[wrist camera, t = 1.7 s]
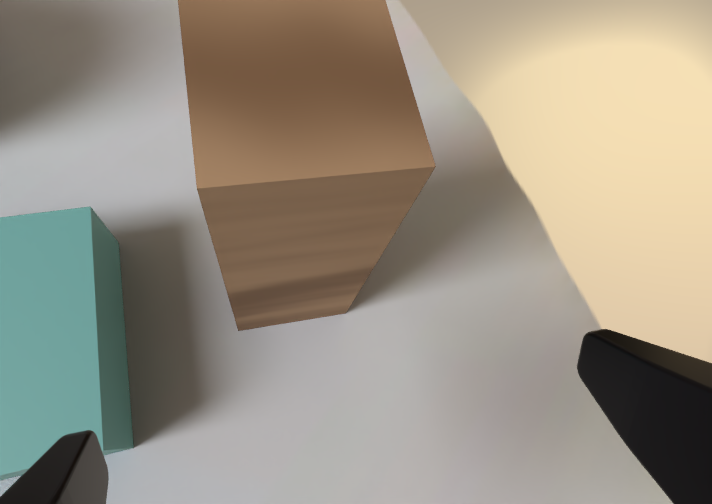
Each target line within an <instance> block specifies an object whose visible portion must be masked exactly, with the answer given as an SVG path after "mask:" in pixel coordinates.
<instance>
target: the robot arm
mask: <svg viewBox="0 0 712 504" xmlns="http://www.w3.org/2000/svg"><path fill="white" fill-rule="evenodd" d="M577 370H578V373H579V376H580V378H581V379H582V381H583V382H584V384H585V385H586V387H587V388H588V390H589V391H590V393H591V394H592V396H593V397H594V399H595V400H596V402H597V403H598V405H599V406H600V408H601V409H602V410H603V412H604V413H605V415H606V416H607V418H608V419H609V421H610V422H611V424H612V425H613V427H614V428H615V430H616V431H617V433H618V434H619V435H620V437H621V438H622V440H623V441H624V442H625V444H626V445H627V446H628V448H629V449H630V450H631V452H632V453H633V454H634V455H635V457H636V458H637V459H638V460H639V462H640V463H641V464H642V465H643V466H644V468H645V469H646V470H647V471H648V473H649V474H650V475H651V476H652V478H653V479H654V480H655V481H656V483H657V484H658V485H659V486H660V487H661V489H662V490H663V491H664V492H665V494H666V495H667V496H668V497H669V499H670V500H671V501H672V502H673V503H674V504H712V363H709V362H706V361H702V360H700V359H697V358H694V357H691V356H688V355H684V354H681V353H678V352H675V351H672V350H669V349H666V348H663V347H660V346H657V345H654V344H651V343H648V342H645V341H642V340H638V339H636V338H632V337H630V336H626V335H623V334H620V333H617V332H614V331H611V330H607V329H601V330H596V331H591V332H588V333H586V334H585V336H584V337H583V341H582V345H581V350H580V354H579V359H578V364H577ZM107 489H108V468H107V464H106V462H105V459H104V456H103V453H102V450H101V447H100V444H99V441H98V438H97V435H96V434H95V433H94V431H91V430H86V431H81V432H75V433H70V434H67V435H64V436H62V437H61V438H60V439H58V440H57V441H56V442H55V443H54V444H53V445H52V446H51V447H50V448H49V449H48V450H47V451H46V452H45V453H44V454H43V455H42V456H41V457H40V458H39V459H38V460H37V461H36V462H35V463H34V464H33V465H32V466H31V467H30V468H29V469H28V470H27V471H26V472H25V473H24V474H23V475H22V476H21V477H20V478H19V479H18V480H17V481H16V482H15V483H14V484H13V485H12V486H11V487H10V488H9V489H8V490H7V491H6V492H5V493H4V494H3V495H2V496H1V497H0V504H106V498H107Z"/></svg>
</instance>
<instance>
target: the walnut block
mask: <svg viewBox="0 0 712 504" xmlns="http://www.w3.org/2000/svg"><path fill="white" fill-rule="evenodd" d="M178 5H179V15H180V25H181V35H182V45H183V55H184V65H185V75H186V85H187V95H188V104H189V114H190V124H191V134H192V144H193V154H194V164H195V174H196V184H197V190H198V194H199V197H200V201H201V204H202V208H203V211H204V214H205V218H206V221H207V225H208V228H209V232H210V235H211V239H212V242H213V245H214V249H215V252H216V256H217V259H218V263H219V266H220V269H221V273H222V276H223V280H224V283H225V287H226V290H227V293H228V297H229V300H230V304H231V307H232V311H233V314H234V317H235V321H236V324H237V328H238V331H241V330H247V329H253V328H259V327H265V326H271V325H277V324H283V323H289V322H295V321H301V320H308V319H314V318H320V317H326V316H332V315H338V314H344V313H346V312H347V310H348V309H349V307H350V306H351V304H352V302H353V301H354V299H355V297H356V296H357V294H358V293H359V291H360V289H361V288H362V286H363V284H364V283H365V281H366V279H367V278H368V276H369V275H370V273H371V271H372V270H373V268H374V266H375V265H376V263H377V261H378V260H379V258H380V257H381V255H382V253H383V252H384V250H385V248H386V247H387V245H388V244H389V242H390V240H391V239H392V237H393V235H394V234H395V232H396V230H397V229H398V227H399V226H400V224H401V222H402V221H403V219H404V217H405V216H406V214H407V213H408V211H409V209H410V208H411V206H412V204H413V203H414V201H415V199H416V198H417V196H418V195H419V193H420V191H421V190H422V188H423V186H424V185H425V183H426V182H427V180H428V178H429V177H430V175H431V173H432V172H433V170H434V168H435V167H436V166H435V163H434V159H433V156H432V153H431V150H430V146H429V143H428V140H427V136H426V133H425V130H424V126H423V123H422V120H421V117H420V113H419V110H418V107H417V103H416V100H415V97H414V93H413V90H412V87H411V84H410V80H409V77H408V74H407V70H406V67H405V64H404V60H403V57H402V54H401V51H400V47H399V44H398V41H397V37H396V34H395V31H394V27H393V24H392V21H391V18H390V14H389V11H388V8H387V4H386V1H385V0H178Z"/></svg>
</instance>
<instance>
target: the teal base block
mask: <svg viewBox="0 0 712 504" xmlns="http://www.w3.org/2000/svg"><path fill="white" fill-rule="evenodd" d="M86 430H91V431H94V433H95V434H96V435H97V438H98V441H99V444H100V447H101V450H102V453H103V455H107V454H111V453H115V452H119V451H123V450H127V449H131V448H134V446H133V432H132V418H131V405H130V391H129V377H128V364H127V350H126V336H125V322H124V309H123V295H122V281H121V267H120V254H119V243H118V241H117V240H116V239H115V238H114V236H113V235H112V234H111V232H110V231H109V230H108V229H107V227H106V226H105V225H104V223H103V222H102V221H101V220H100V218H99V217H98V216H97V214H96V213H95V212H94V211H93V209H92V208H91V207H83V208H75V209H67V210H58V211H50V212H42V213H34V214H26V215H18V216H9V217H1V218H0V480H4V479H8V478H12V477H16V476H20V475H23V474H24V473H25V472H26V471H27V470H28V469H29V468H30V467H31V466H32V465H33V464H34V463H35V462H36V461H37V460H38V459H39V458H40V457H41V456H42V455H43V454H44V453H45V452H46V451H47V450H48V449H49V448H50V447H51V446H52V445H53V444H54V443H55V442H56V441H57V440H58V439H60V438H61V437H62V436H64V435H67V434H70V433H75V432H81V431H86Z"/></svg>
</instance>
